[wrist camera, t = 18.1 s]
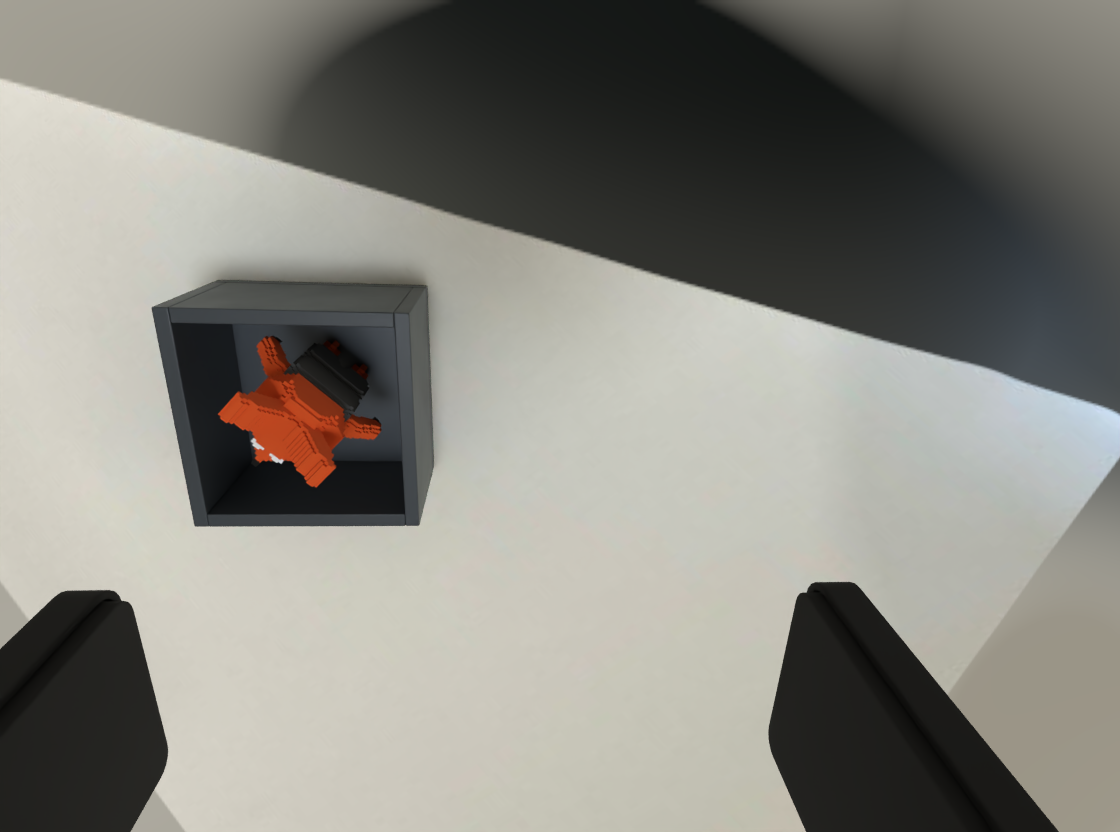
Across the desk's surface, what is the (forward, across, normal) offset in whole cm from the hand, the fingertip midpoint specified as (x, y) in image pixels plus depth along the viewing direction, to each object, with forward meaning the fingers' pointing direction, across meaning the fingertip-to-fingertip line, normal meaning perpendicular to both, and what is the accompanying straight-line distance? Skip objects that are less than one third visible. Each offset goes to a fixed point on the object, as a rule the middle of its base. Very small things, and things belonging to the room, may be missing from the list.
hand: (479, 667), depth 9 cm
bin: (+33, +11, +7) cm, 36 cm away
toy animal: (+33, +11, +7) cm, 35 cm away
